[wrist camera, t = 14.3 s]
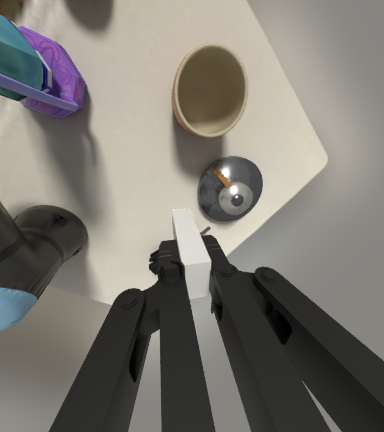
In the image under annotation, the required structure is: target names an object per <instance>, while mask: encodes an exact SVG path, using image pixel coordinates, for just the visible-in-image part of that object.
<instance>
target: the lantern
mask: <svg viewBox="0 0 384 432" xmlns="http://www.w3.org/2000/svg"><path fill="white" fill-rule="evenodd" d="M84 90H85V81H84V79H83V78H82V76H81V74H80V73H79V71H78V70H77V68H76V66H75V65H74V63H73V62H72V60H71V58H70V57H69V55H68V53H67V52H66V51H65V49H64V48H63V47H62V46H61V45H59V44H58V43H57V42H55V41H52V40H50V39H48V38H46V37H44V36H42V35H40V34H38V33H36V32H34V31H32V30H30V29H28V28H25V27H23V26H20V27H17V25H16V24H15V23H14V22H12V21H11V20H9V19H7V18H5V17H3V16H1V15H0V95H1V96H4V97H7V98H10V99H13V100H16V101H20V102H21V103H22V104H23V105H24V107H27V108H29V109H32V110H35V111H38V112H41V113H43V114H46V115H49V116H52V117H55V118H59V119H60V118H64V117H66V116H68V115H70V114H72V113H74V112H76V111H77V110H79V109H81V108H83V101H84Z"/></svg>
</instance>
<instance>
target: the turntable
mask: <svg viewBox="0 0 384 432" xmlns="http://www.w3.org/2000/svg"><path fill="white" fill-rule="evenodd" d="M228 179H237V180H239V181H240V182H242V183H243V184H245V185H246V186H248V187H249V188H250V189H251V191H252V193H253V200H252V203H251V205H250V206H249V208H248V209H247V210H246V211H244V212H243V213H241V214H238V215H231V214H228V213H226V212H225V211H224V210H223V208H222V207H221V206H220V205H219V203H218V202H217V200H216V190H217V188H218V186H219V185H220V184H221V183H222V184H223V185H224V186H225V187H227V188H229V187H230V186H231V183H230V182H229V181H228ZM262 186H263V181H262V175H261V173H260V171H259V169H258V167H257V166H256V165H255V164H254V163H253V162H251V161H250V160H247V159H245V158H242V157H237V156H230V157H225V158H222V159H220V160H217V161H216V162H214V163H213V164H212V165H210V166H209V167H208V168H207V169H206V171H205V172H204V173H203V175H202V177H201V179H200V182H199V185H198V199H199V203H200V205H201V207H202V208H203V210H204V212H205V213H206V214H207V215H208V216H210V217H211V218H213V219H215V220H218V221H232V220H236V219H238V218H241V217H242V216H244V215H246V214H247V213H248V212H249V211H250V210H251V209H252V208H253V207H254V206H255V205H256V203H257V202H258V200H259V198H260V195H261V192H262Z"/></svg>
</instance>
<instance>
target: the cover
mask: <svg viewBox="0 0 384 432" xmlns="http://www.w3.org/2000/svg"><path fill="white" fill-rule="evenodd" d="M228 181H229V182H230V183H231V186H230V187H229V188H227V187H225V186H224V185H223V184H222V183H221V184H220V185H219V186H218V188H217V190H216V200H217V202H218V203H219V205H220V206H221V207H222V208H223V210H224V211H225V212H226V213H228V214H231V215H238V214H241V213H243V212H244V211H246V210H247V209H248V208H249V206H250V205H251V203H252V200H253V193H252V191H251V189H250V188H249V187H248V186H246V185H245V184H243V183H242V182H240V181H239V180H237V179H228Z"/></svg>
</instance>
